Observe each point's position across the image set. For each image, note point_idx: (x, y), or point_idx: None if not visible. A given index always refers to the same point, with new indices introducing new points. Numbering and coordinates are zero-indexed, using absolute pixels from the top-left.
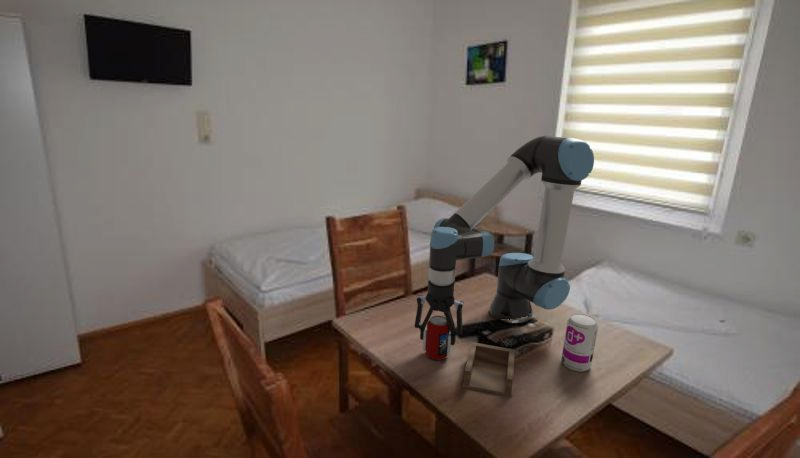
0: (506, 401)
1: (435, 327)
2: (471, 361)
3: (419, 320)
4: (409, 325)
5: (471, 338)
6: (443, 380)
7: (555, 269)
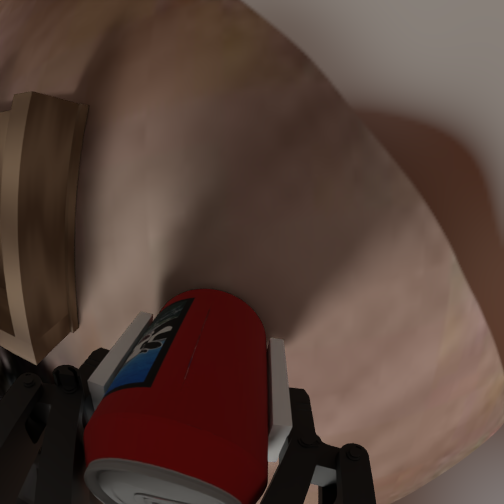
0: None
1: (177, 447)
2: (4, 189)
3: (339, 499)
4: None
5: None
6: (166, 128)
7: None
